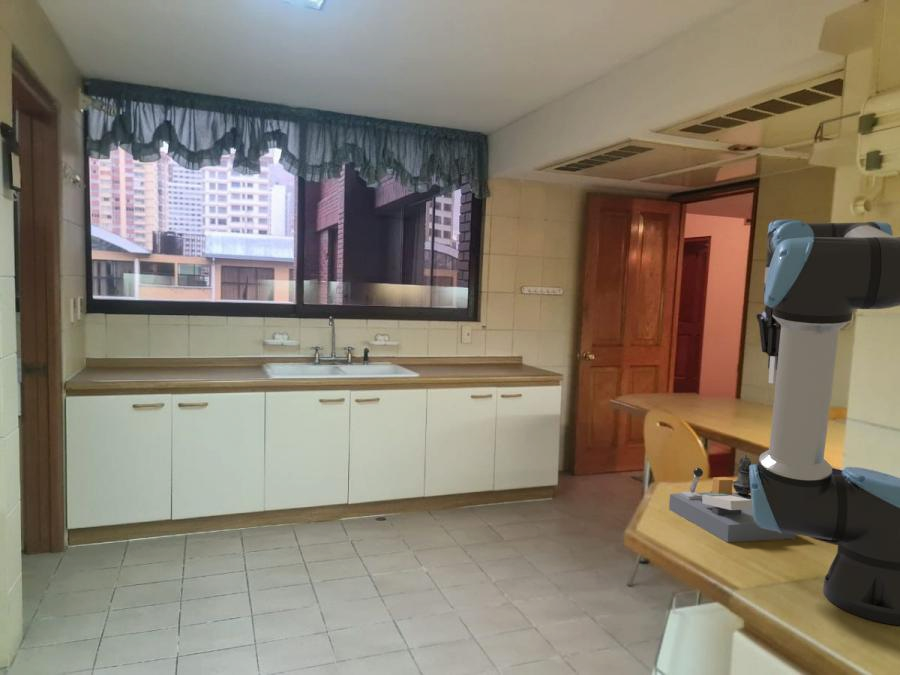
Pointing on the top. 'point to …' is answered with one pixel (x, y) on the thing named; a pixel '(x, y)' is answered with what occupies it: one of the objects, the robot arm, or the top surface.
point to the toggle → (695, 479)
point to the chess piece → (743, 478)
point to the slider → (722, 485)
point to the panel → (722, 519)
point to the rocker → (727, 501)
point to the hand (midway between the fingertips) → (775, 383)
